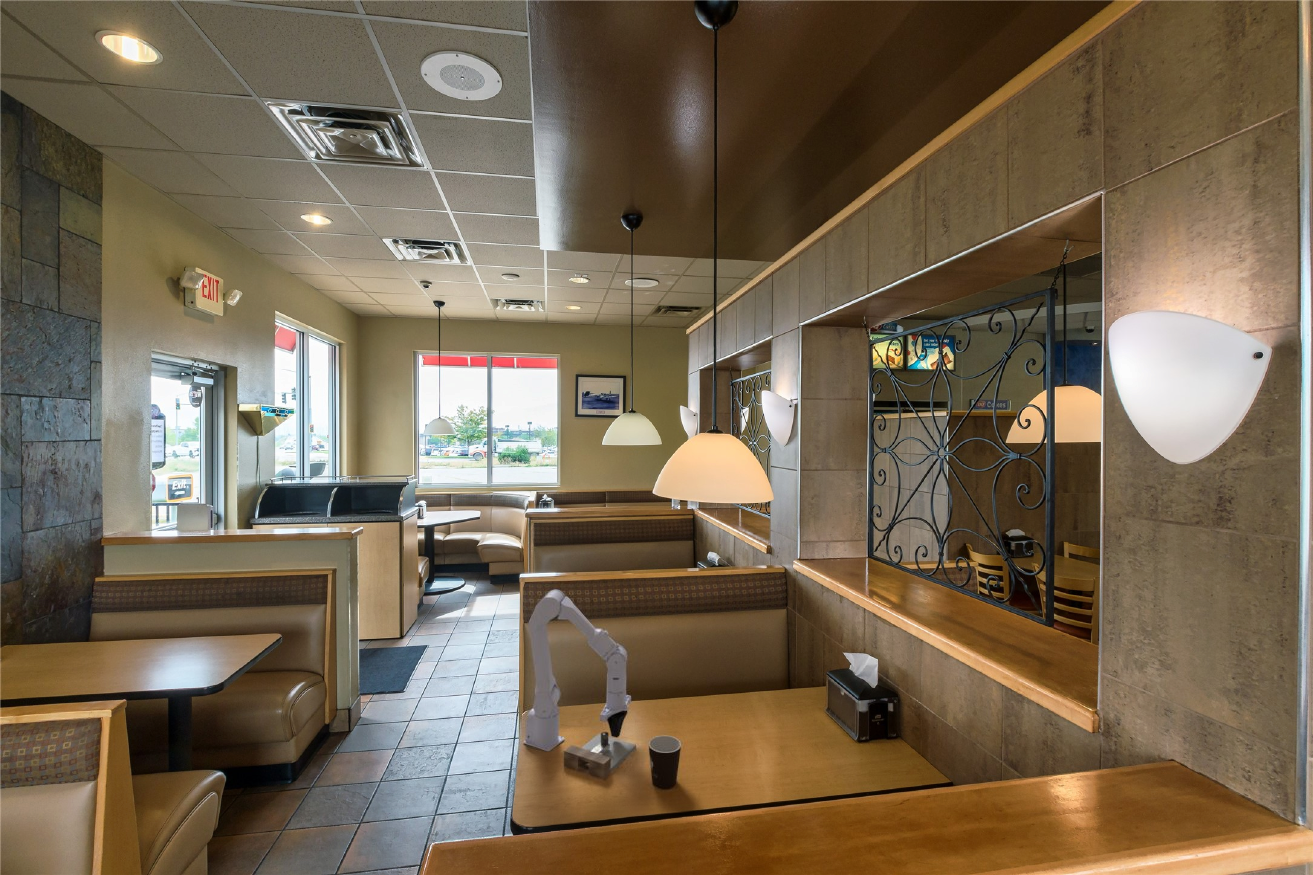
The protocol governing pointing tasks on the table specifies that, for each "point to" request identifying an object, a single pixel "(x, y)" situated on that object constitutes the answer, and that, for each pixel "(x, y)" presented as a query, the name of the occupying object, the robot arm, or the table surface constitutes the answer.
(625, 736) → the table surface
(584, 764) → the block
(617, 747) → the door panel
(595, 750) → the bolt
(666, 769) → the coffee mug
